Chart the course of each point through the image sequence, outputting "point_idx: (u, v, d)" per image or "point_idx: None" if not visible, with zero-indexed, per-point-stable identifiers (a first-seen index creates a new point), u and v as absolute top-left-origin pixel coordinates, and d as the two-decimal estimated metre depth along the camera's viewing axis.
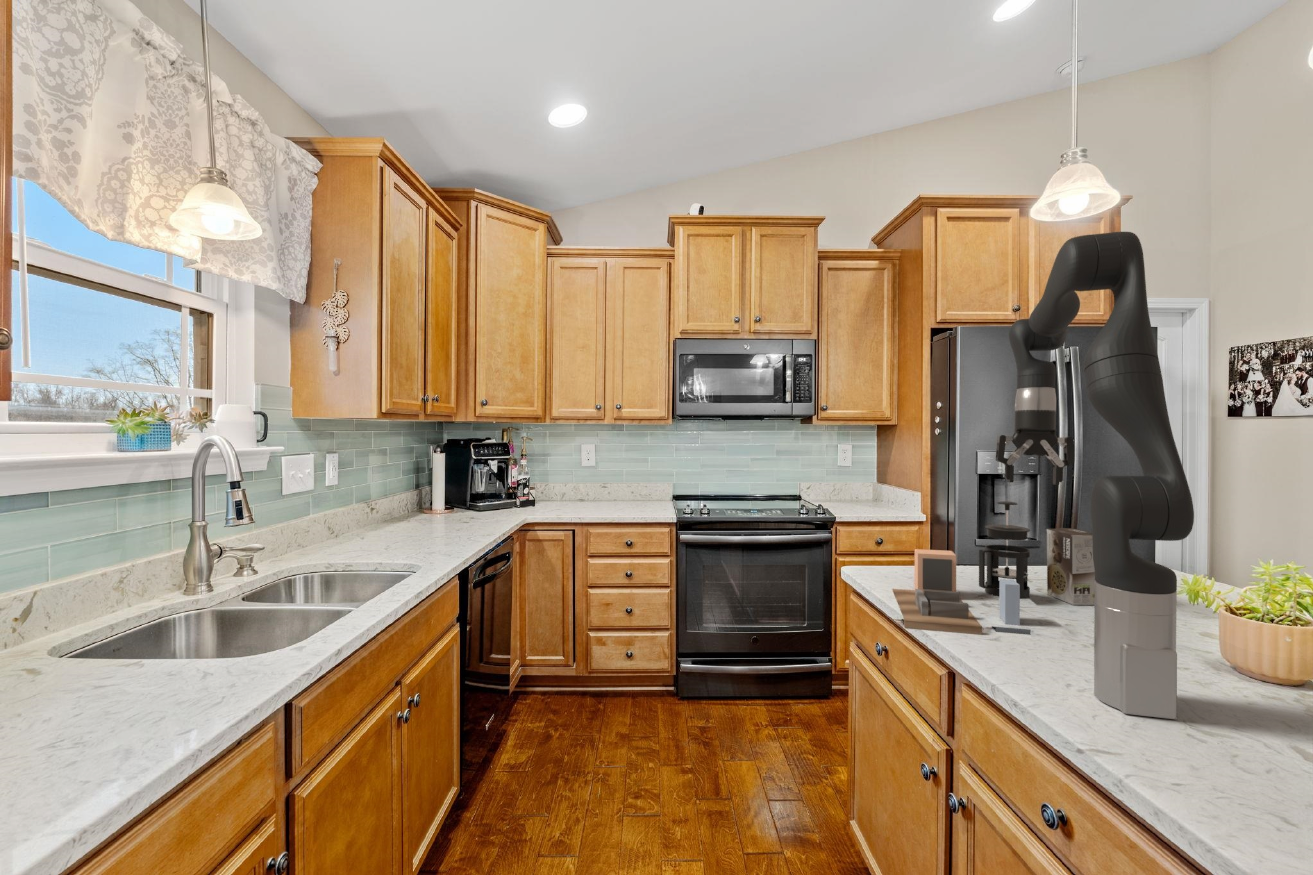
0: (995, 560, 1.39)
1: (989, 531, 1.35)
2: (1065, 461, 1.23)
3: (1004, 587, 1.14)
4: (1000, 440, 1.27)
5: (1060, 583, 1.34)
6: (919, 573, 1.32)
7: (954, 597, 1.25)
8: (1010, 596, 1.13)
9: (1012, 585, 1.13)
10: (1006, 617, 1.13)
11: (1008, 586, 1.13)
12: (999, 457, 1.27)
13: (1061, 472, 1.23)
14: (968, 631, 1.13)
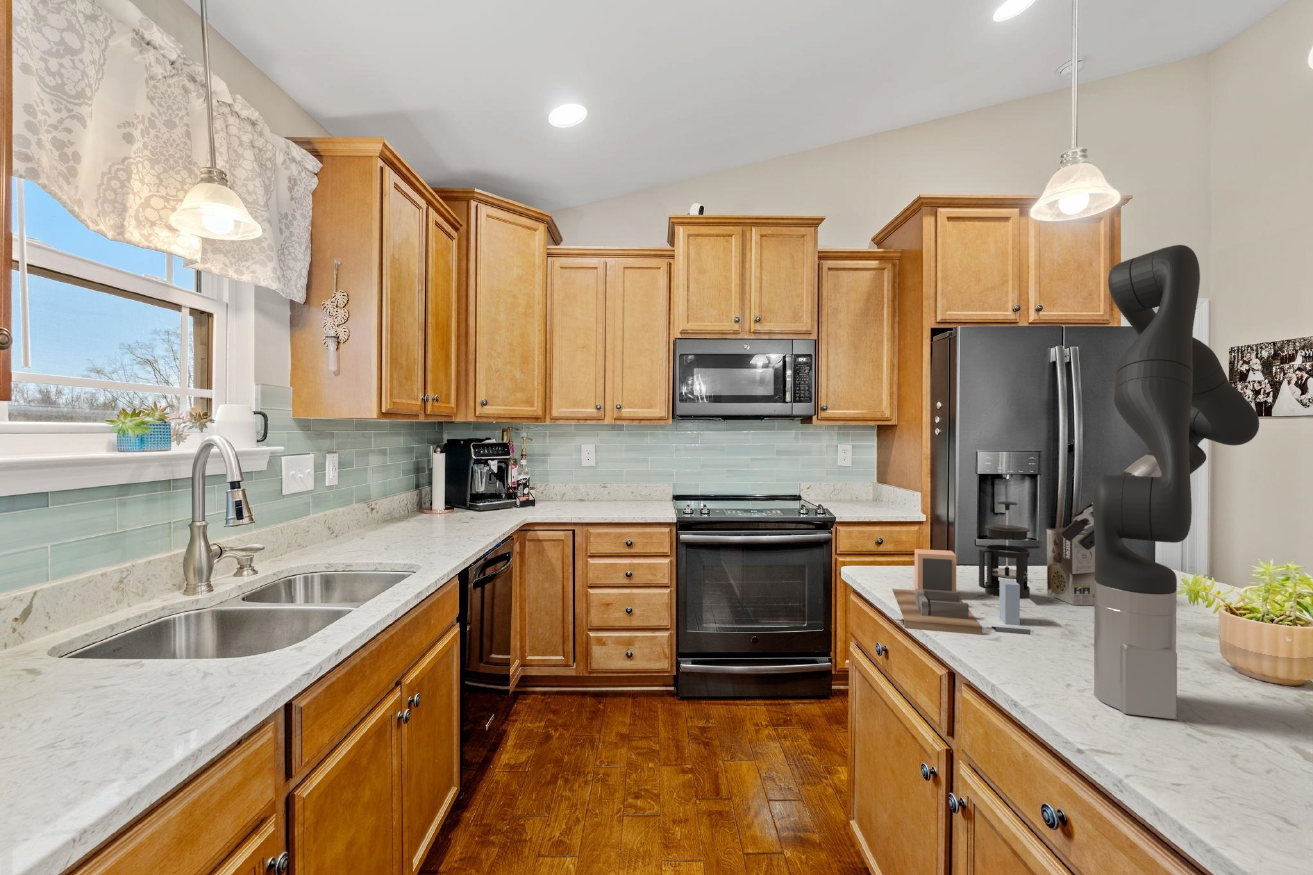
0: (995, 560, 1.39)
1: (989, 531, 1.35)
2: None
3: (1004, 587, 1.14)
4: (1091, 500, 1.17)
5: (1060, 583, 1.34)
6: (919, 573, 1.32)
7: (954, 597, 1.25)
8: (1010, 596, 1.13)
9: (1012, 585, 1.13)
10: (1006, 617, 1.13)
11: (1008, 586, 1.13)
12: (1075, 513, 1.18)
13: (1092, 534, 1.07)
14: (968, 631, 1.13)
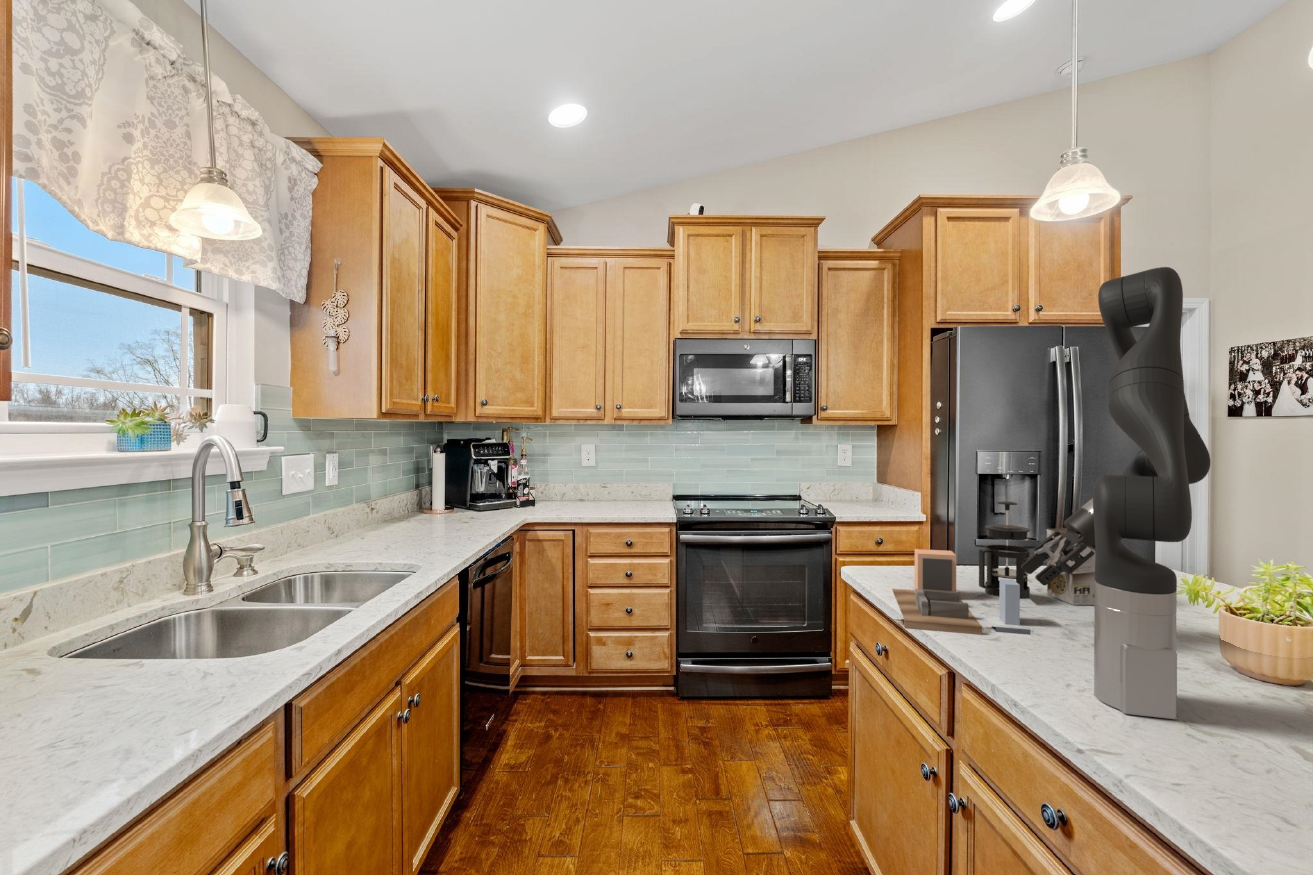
0: (995, 560, 1.39)
1: (989, 531, 1.35)
2: None
3: (1004, 587, 1.14)
4: (1052, 534, 1.19)
5: (1060, 583, 1.34)
6: (919, 573, 1.32)
7: (954, 597, 1.25)
8: (1010, 596, 1.13)
9: (1012, 585, 1.13)
10: (1006, 617, 1.13)
11: (1008, 586, 1.13)
12: (1037, 546, 1.20)
13: (1049, 570, 1.09)
14: (968, 631, 1.13)
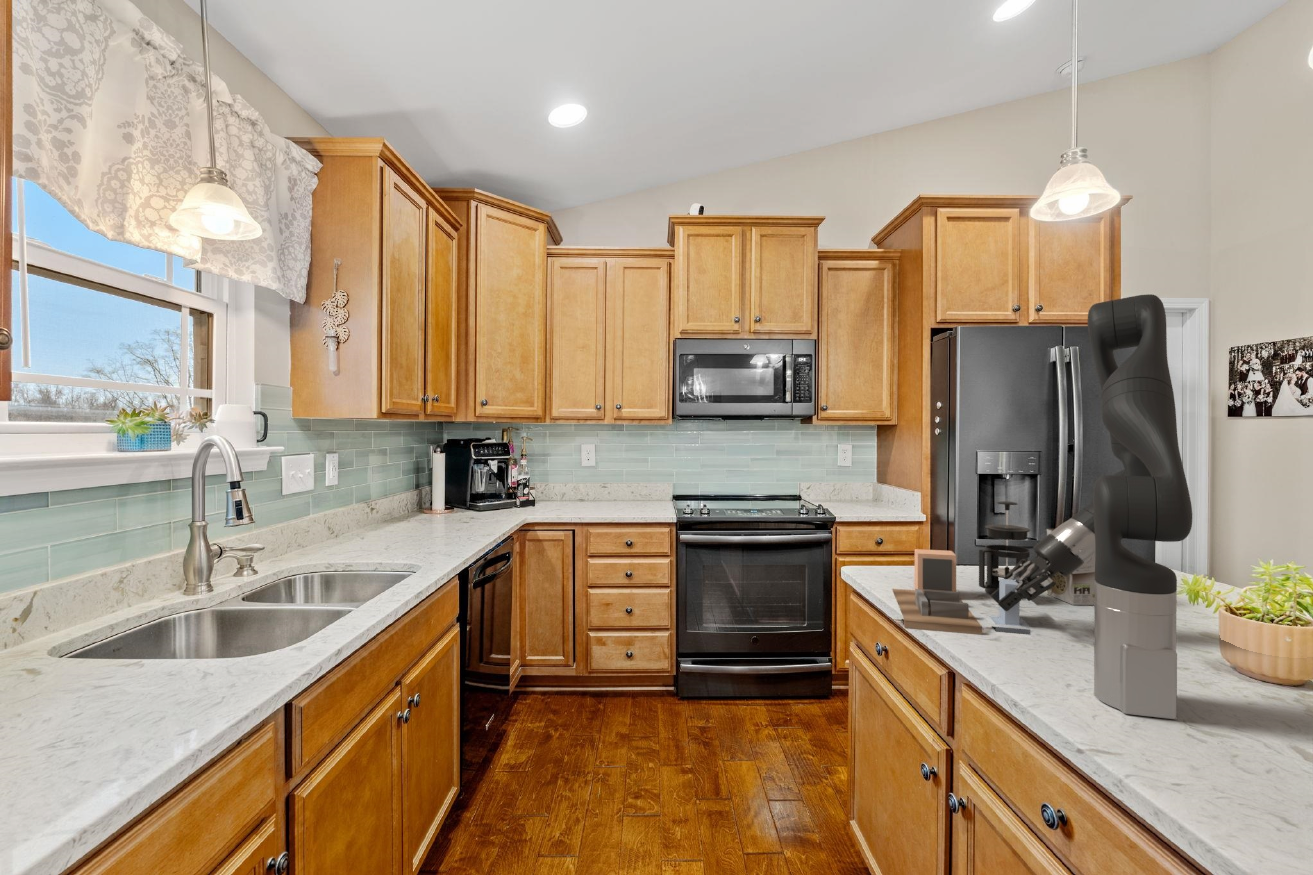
0: (995, 560, 1.39)
1: (989, 531, 1.35)
2: None
3: (1003, 587, 1.14)
4: (1018, 563, 1.20)
5: (1060, 583, 1.34)
6: (919, 573, 1.32)
7: (954, 597, 1.25)
8: None
9: (1012, 585, 1.13)
10: (1006, 617, 1.14)
11: (1008, 586, 1.13)
12: (1007, 575, 1.20)
13: (1010, 596, 1.12)
14: (968, 631, 1.13)
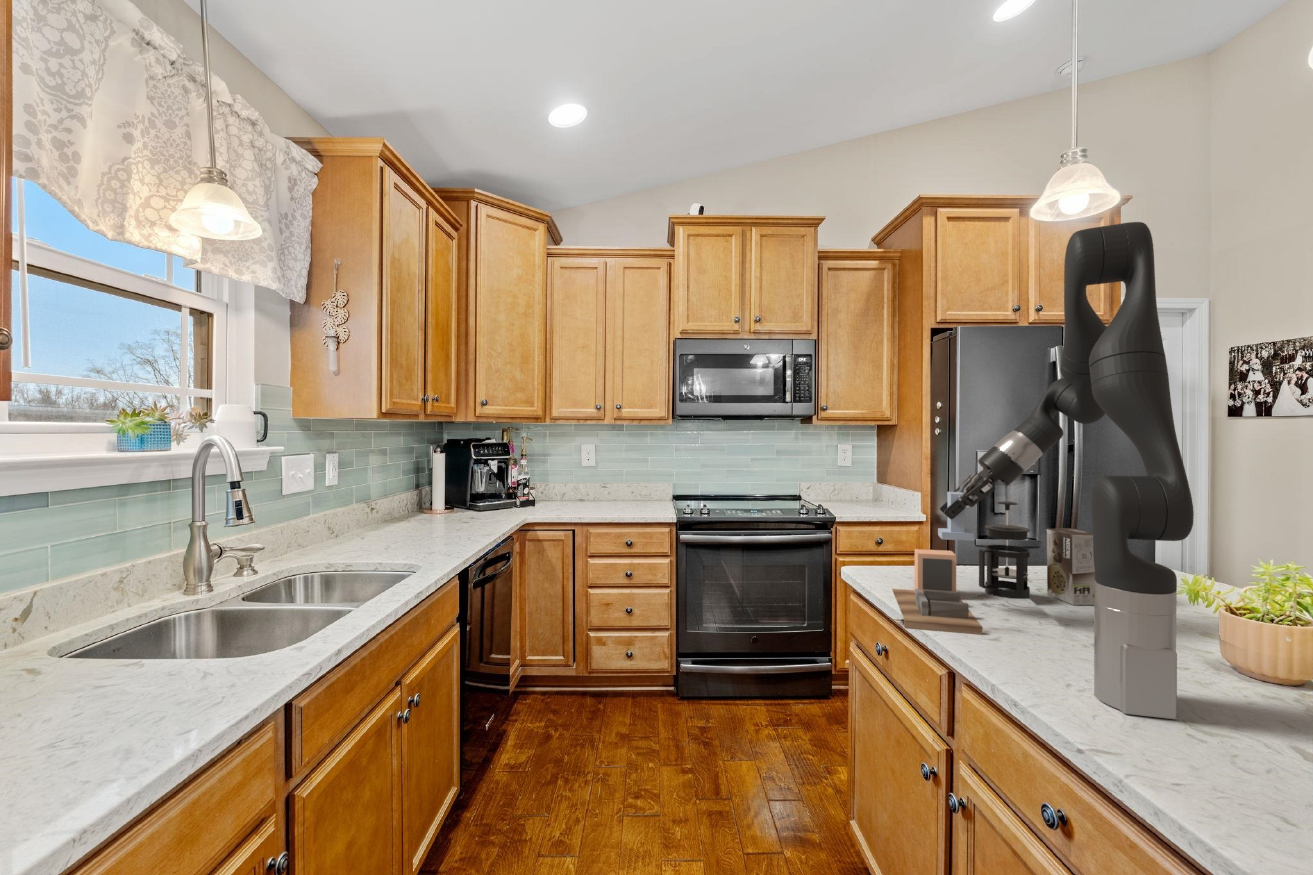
0: (995, 560, 1.39)
1: (989, 531, 1.35)
2: None
3: (950, 497, 1.20)
4: (967, 478, 1.26)
5: (1060, 583, 1.34)
6: (919, 573, 1.32)
7: (954, 597, 1.25)
8: None
9: (957, 494, 1.19)
10: (952, 525, 1.19)
11: (953, 495, 1.19)
12: (955, 490, 1.26)
13: (955, 505, 1.18)
14: (968, 631, 1.13)
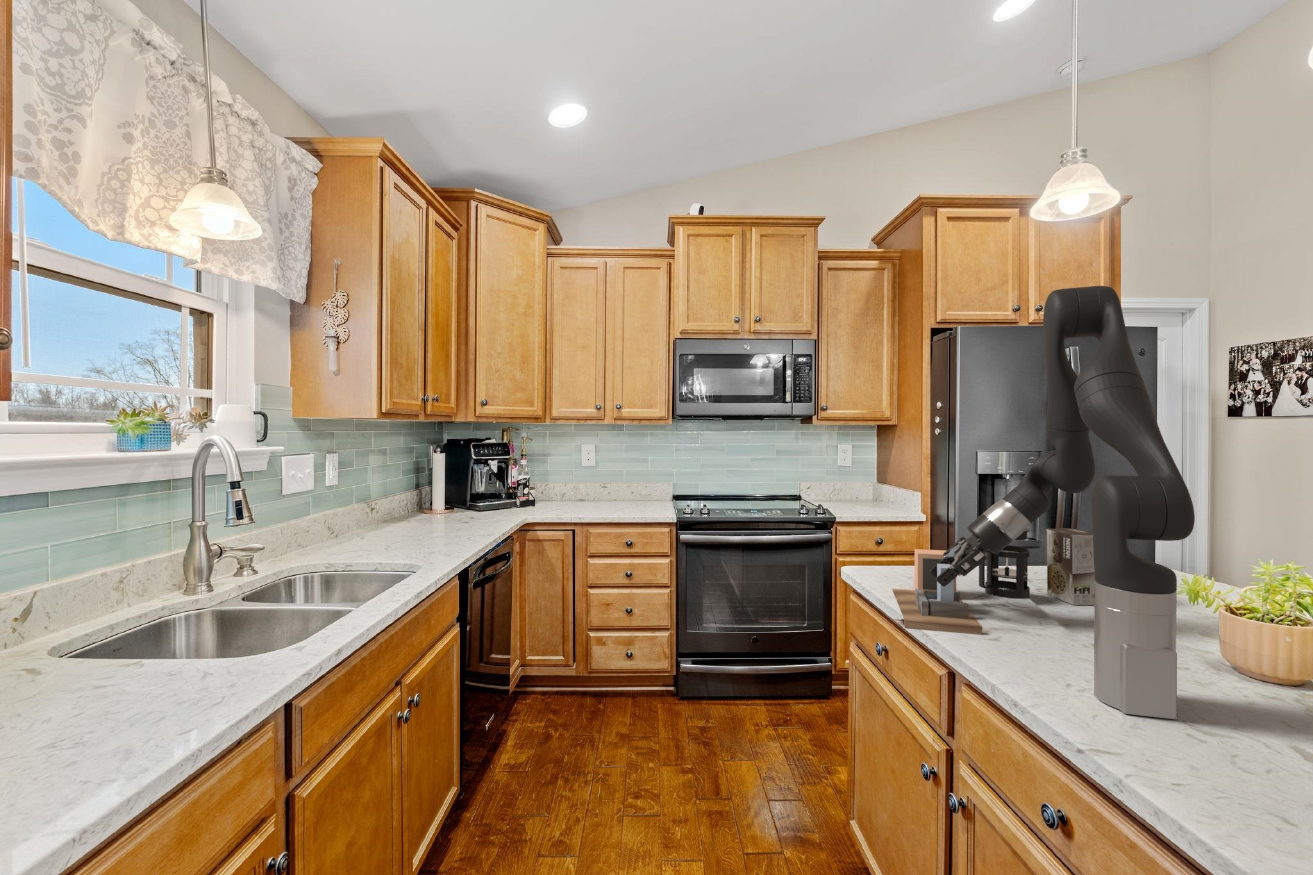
0: (995, 560, 1.39)
1: None
2: None
3: (939, 571, 1.21)
4: (958, 540, 1.27)
5: (1060, 583, 1.34)
6: (919, 573, 1.32)
7: (954, 597, 1.25)
8: None
9: None
10: (941, 599, 1.21)
11: (943, 570, 1.20)
12: None
13: (947, 572, 1.18)
14: (968, 631, 1.13)
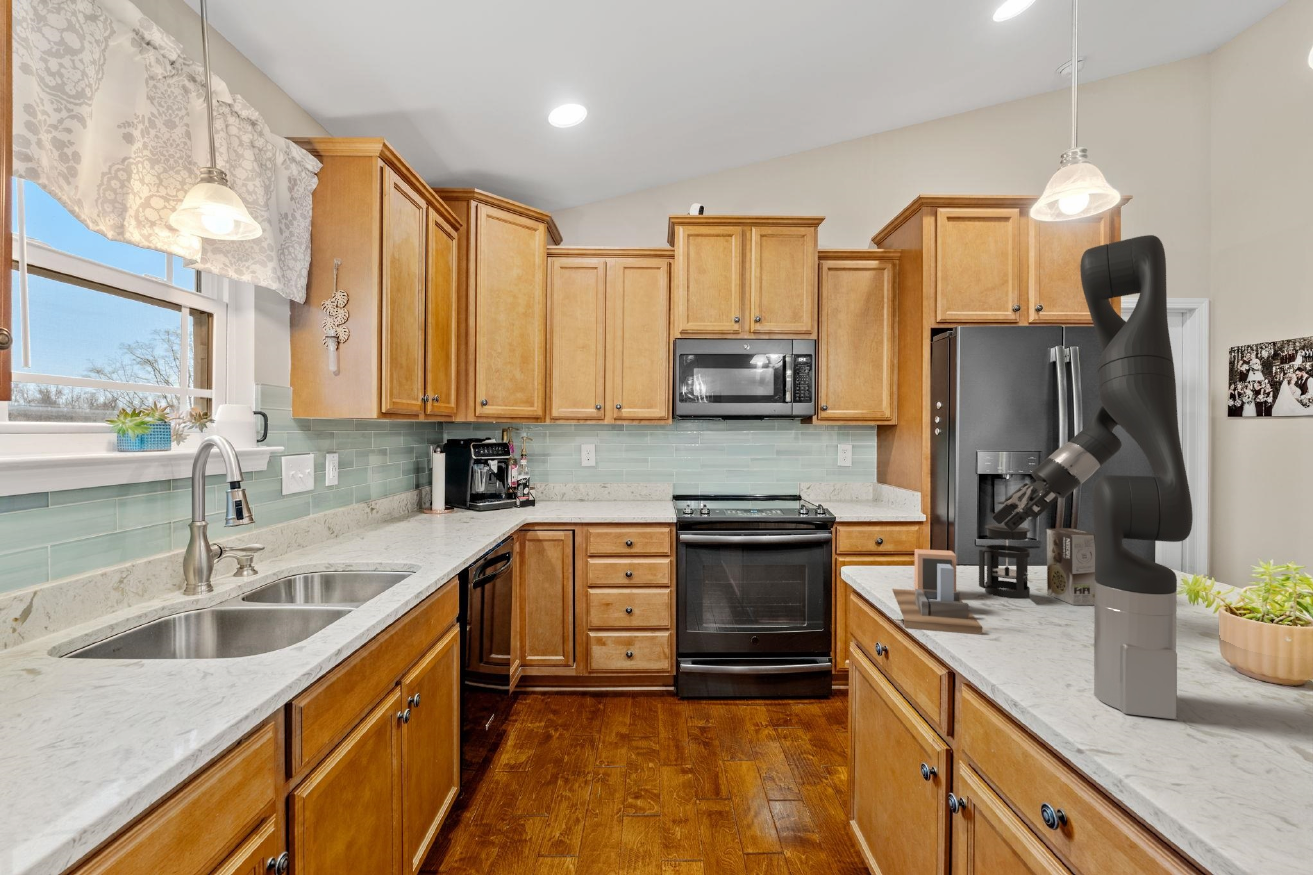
0: (995, 560, 1.39)
1: (989, 531, 1.35)
2: None
3: (939, 571, 1.21)
4: (1021, 486, 1.24)
5: (1060, 583, 1.34)
6: (919, 573, 1.32)
7: (954, 597, 1.25)
8: (945, 579, 1.20)
9: (947, 569, 1.20)
10: (941, 599, 1.21)
11: (943, 570, 1.20)
12: (1007, 498, 1.25)
13: (1016, 516, 1.14)
14: (968, 631, 1.13)
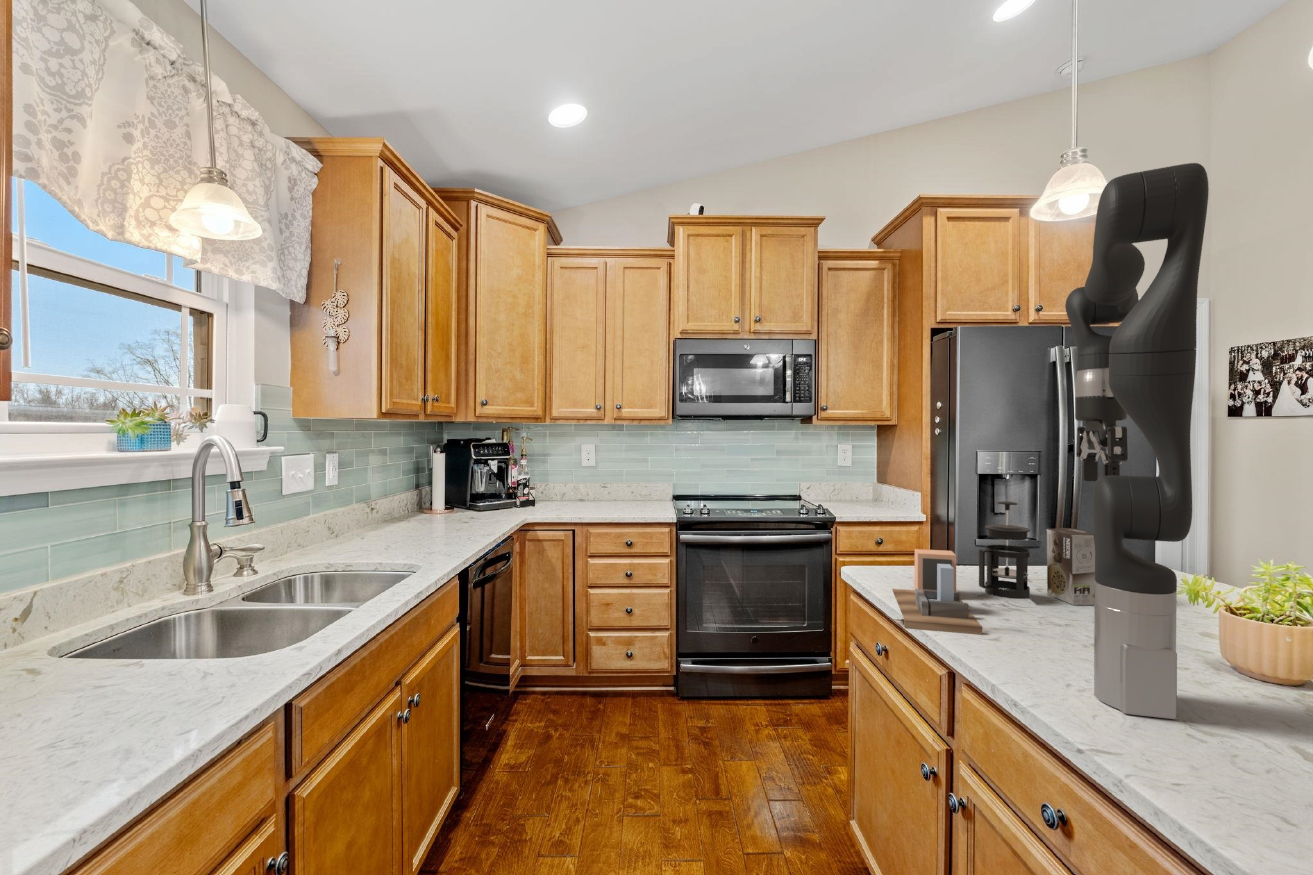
0: (995, 560, 1.39)
1: (989, 531, 1.35)
2: None
3: (939, 571, 1.21)
4: (1077, 432, 1.12)
5: (1060, 583, 1.34)
6: (919, 573, 1.32)
7: (954, 597, 1.25)
8: (945, 579, 1.20)
9: (947, 569, 1.20)
10: (941, 599, 1.21)
11: (943, 570, 1.20)
12: (1077, 452, 1.12)
13: (1108, 470, 1.01)
14: (968, 631, 1.13)
